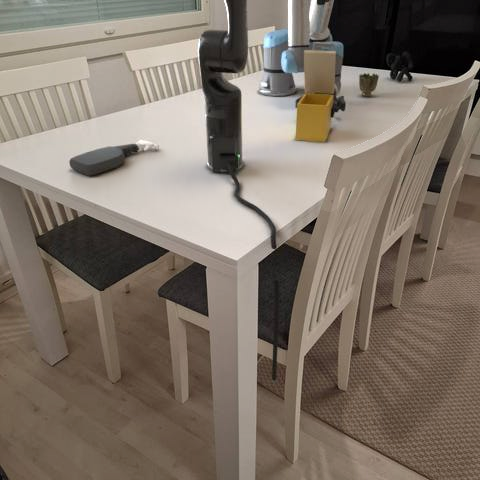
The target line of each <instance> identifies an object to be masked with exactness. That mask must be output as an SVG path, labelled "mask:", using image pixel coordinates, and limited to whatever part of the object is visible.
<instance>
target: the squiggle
mask: <svg viewBox="0 0 480 480" xmlns="http://www.w3.org/2000/svg"><path fill="white" fill-rule="evenodd" d="M401 57H402V59H401ZM391 59H392V60H391ZM393 60H394V61H393ZM385 61H386V64H387V67H390V68H391V70H390V72H389V78H390V79H391V80H395V79H396V81H397V82H399V83H400V82H402V81H403V79H404V76H406V78H407V80H408V81H412V80H413V79H414V77H413V75H412V74H411V73H410V72H409V71H410V70H412V69H413V68H414V64H413V61H412V57H411V54H410V53H409V52H408V51H403V53H402V54H401V55H396V54H394V53H392V52H390V53H387V55H386V57H385ZM406 62H407V65H408V66H407V67H405V66H404V65H405V64H406ZM400 70H401V71H400Z"/></svg>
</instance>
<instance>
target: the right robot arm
mask: <svg viewBox="0 0 480 480" xmlns="http://www.w3.org/2000/svg"><path fill="white" fill-rule="evenodd" d="M334 1H335V0H329V2H325V4H324V5H317V0H287V29H277V30H273V31H269V32H267V33H266V34H265V35H264V38H263V46H262V47H263V73H262V77H261V79H260V83H259V86H258V93H259V94H260V95H263V96H266V97H267V96H268V97H288V96H291V95H294V94H296V90H297V87H296V83H295V79H294V76H293V75H294V74H298V73H299V74H300V73H304V51H305V50H312V48H313V42H334V48H333V50H332V51H336V60H335V83H334V94H328V93H313V94H328V95H334V96H333V106H332V108H331V117H332V118H334V116H335V114H337V113H339V112H340V111H341V112H346V105H347V102H346V100H345V96H344V95H340V96H339V93H340V91H341V89H342V81H341V80H342V69H343V60H344V44H343V43H342V42H340V41H333V36H332V34H331V30H330V28H329V22H330V17H331V13H332V10H333V6H334ZM315 51H330V47H316V48H315ZM302 97H303V95H302V96H300V97H298V98H297V99H295V102H294V103H295V104H294V105H295V106H294V107H295V109H297V104H298V102H299V101H300V100H301V98H302Z"/></svg>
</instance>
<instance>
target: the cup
mask: <svg viewBox="0 0 480 480" xmlns="http://www.w3.org/2000/svg"><path fill="white" fill-rule="evenodd" d="M379 77H380V75H379V74H378V73H373V74H371V75H370V73H369V72H368V73H365V72H364V73H363V74H362V73H361V74H359V77H358V79H359V80H358V84H359V85H358V86H359V90H360V91H361V95H362V97H366V98H367V97H371V96H372V93H373V92H374V91H375V90H376V88H377V86H378V81H379Z"/></svg>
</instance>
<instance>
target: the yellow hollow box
mask: <svg viewBox="0 0 480 480" xmlns="http://www.w3.org/2000/svg"><path fill="white" fill-rule="evenodd" d="M302 96H303V97H302ZM302 96H301V97H302V98H301V100H300V101H299V102H298V104H297V108H296V119H295V120H296V121H295V140H296V141H306V142H317V143H326V140H327V138H328V136H329V133H330V131H331V129H332V127H331V125H332V118H333V117H331V108H332V106H333V96H334V95H328V94H314V93H310V92H304V93H303V95H302Z"/></svg>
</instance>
